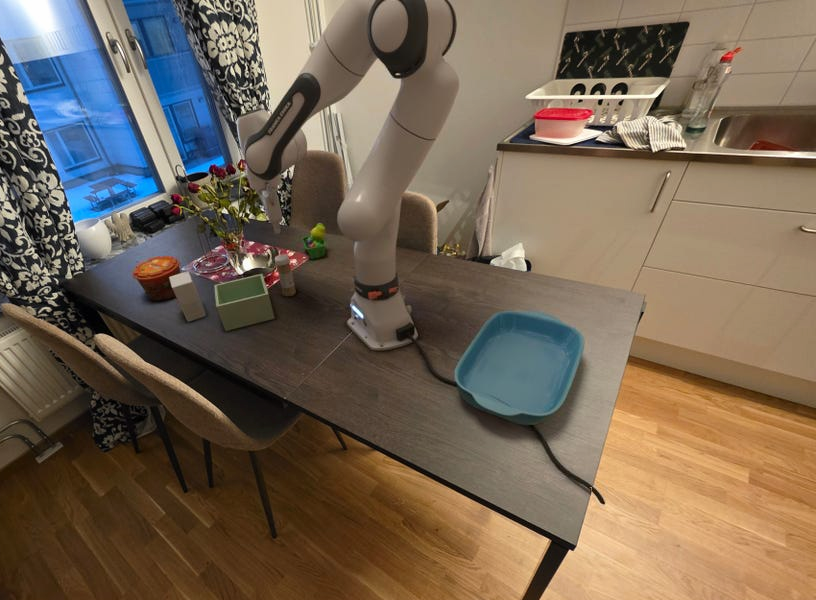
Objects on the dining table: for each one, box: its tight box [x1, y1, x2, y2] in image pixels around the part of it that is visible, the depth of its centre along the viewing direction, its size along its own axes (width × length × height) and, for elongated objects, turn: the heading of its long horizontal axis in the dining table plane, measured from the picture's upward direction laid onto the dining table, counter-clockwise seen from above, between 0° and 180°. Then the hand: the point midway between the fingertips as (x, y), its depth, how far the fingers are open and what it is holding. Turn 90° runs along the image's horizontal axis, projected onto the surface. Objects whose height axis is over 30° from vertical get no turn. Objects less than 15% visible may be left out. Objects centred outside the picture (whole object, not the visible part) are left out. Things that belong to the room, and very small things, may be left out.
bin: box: [213, 273, 276, 332], centre depth 122 cm, size 14×16×9 cm
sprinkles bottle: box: [274, 253, 297, 297], centre depth 127 cm, size 5×5×13 cm
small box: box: [169, 271, 207, 323], centre depth 124 cm, size 8×6×13 cm
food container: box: [132, 255, 182, 302], centre depth 138 cm, size 16×16×11 cm
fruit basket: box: [301, 222, 327, 260], centre depth 149 cm, size 11×9×11 cm
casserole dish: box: [453, 310, 585, 426], centre depth 89 cm, size 37×22×7 cm, turn 145°
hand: (275, 226), depth 116 cm, fingers open, 8 cm apart
